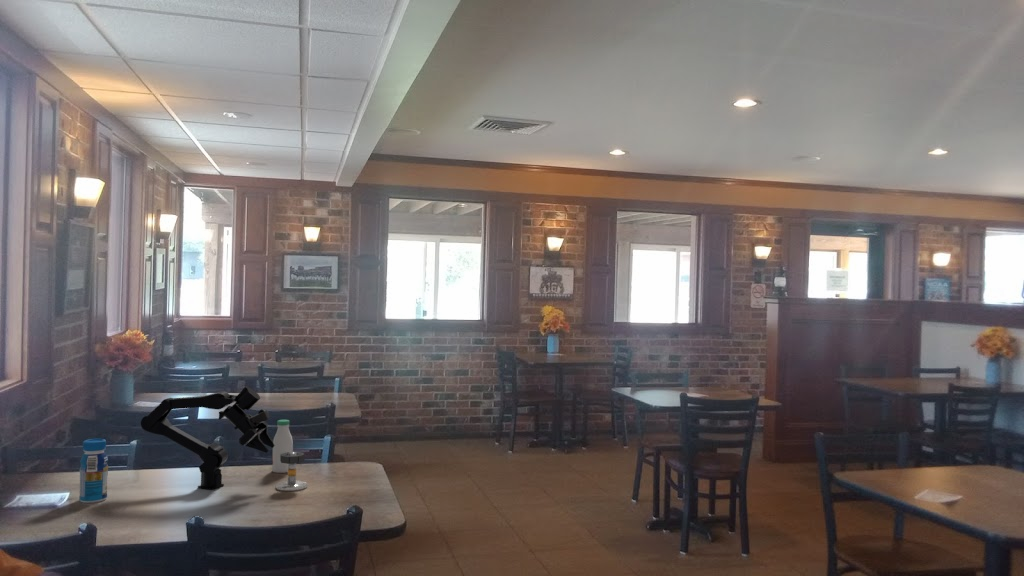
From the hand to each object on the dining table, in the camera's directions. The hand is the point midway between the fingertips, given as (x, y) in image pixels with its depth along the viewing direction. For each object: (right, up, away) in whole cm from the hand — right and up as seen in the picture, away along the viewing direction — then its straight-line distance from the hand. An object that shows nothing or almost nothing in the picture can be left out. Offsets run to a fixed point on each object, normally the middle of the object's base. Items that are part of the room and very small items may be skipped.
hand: (270, 449), depth 269 cm
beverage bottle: (-53, -13, -20) cm, 58 cm away
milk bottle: (-3, -14, +24) cm, 28 cm away
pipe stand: (+7, -14, +1) cm, 16 cm away
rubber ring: (+8, -5, +1) cm, 9 cm away
